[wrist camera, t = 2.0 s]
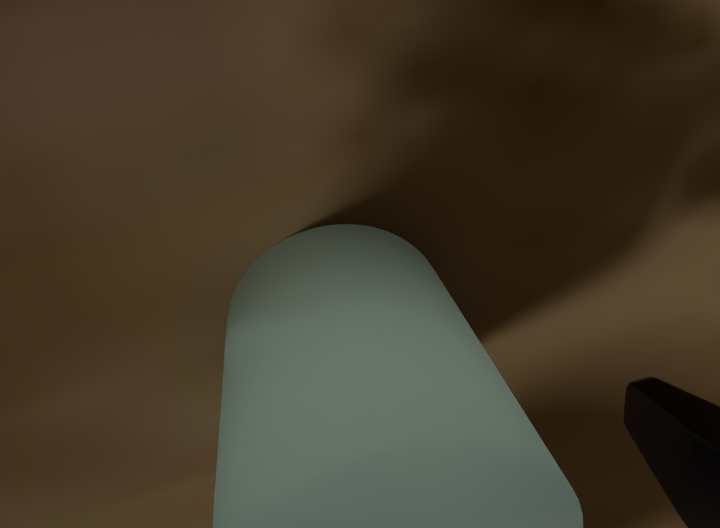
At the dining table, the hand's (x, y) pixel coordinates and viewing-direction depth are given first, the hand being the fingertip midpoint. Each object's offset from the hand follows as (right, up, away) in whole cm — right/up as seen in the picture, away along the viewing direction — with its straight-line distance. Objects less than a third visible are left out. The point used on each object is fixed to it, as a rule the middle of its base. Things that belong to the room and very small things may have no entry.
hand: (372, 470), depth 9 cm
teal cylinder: (-1, +2, +3) cm, 4 cm away
